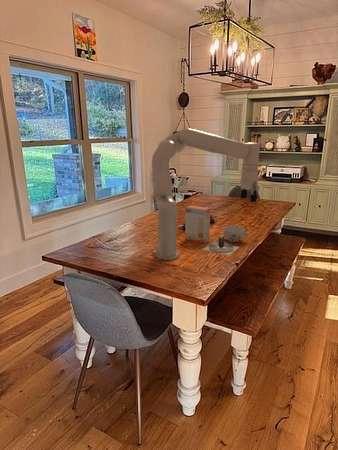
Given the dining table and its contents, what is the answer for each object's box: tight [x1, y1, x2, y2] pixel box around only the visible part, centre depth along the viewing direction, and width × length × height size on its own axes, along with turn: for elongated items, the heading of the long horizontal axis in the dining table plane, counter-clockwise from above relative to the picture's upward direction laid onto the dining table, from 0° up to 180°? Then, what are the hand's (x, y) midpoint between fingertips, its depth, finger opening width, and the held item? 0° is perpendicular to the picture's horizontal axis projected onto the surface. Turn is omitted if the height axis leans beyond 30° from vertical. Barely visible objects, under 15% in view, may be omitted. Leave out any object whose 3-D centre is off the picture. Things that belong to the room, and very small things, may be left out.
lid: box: [208, 236, 235, 254], centre depth 179 cm, size 14×14×6 cm
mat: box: [202, 244, 240, 256], centre depth 180 cm, size 16×15×1 cm
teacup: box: [222, 225, 249, 243], centre depth 190 cm, size 15×12×8 cm
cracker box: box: [184, 204, 211, 244], centre depth 190 cm, size 14×6×21 cm, turn 54°
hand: (248, 199), depth 167 cm, fingers open, 9 cm apart
